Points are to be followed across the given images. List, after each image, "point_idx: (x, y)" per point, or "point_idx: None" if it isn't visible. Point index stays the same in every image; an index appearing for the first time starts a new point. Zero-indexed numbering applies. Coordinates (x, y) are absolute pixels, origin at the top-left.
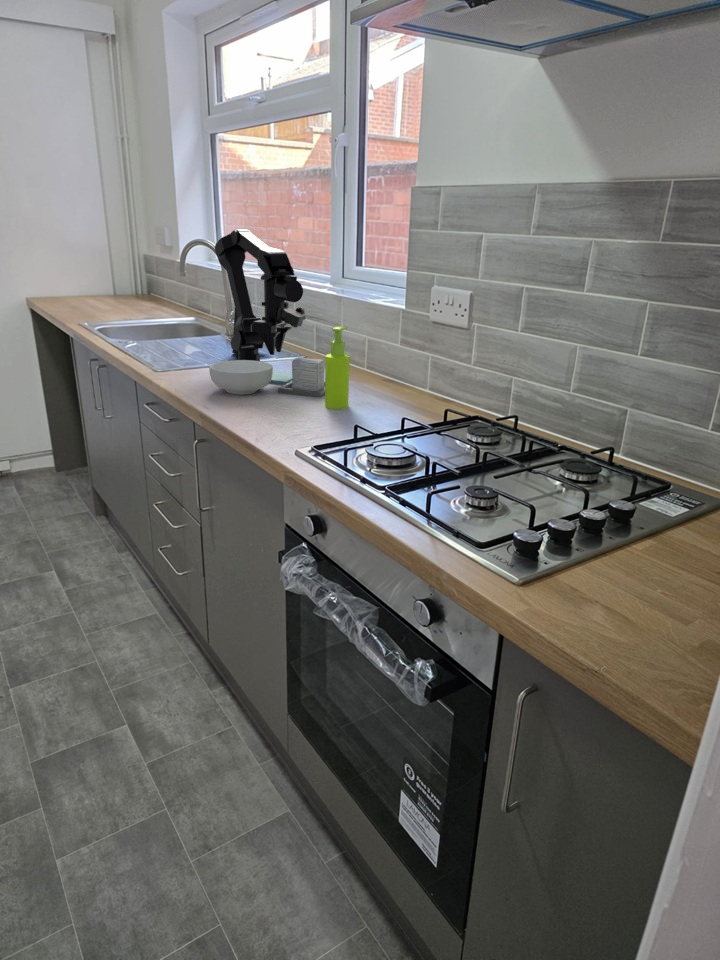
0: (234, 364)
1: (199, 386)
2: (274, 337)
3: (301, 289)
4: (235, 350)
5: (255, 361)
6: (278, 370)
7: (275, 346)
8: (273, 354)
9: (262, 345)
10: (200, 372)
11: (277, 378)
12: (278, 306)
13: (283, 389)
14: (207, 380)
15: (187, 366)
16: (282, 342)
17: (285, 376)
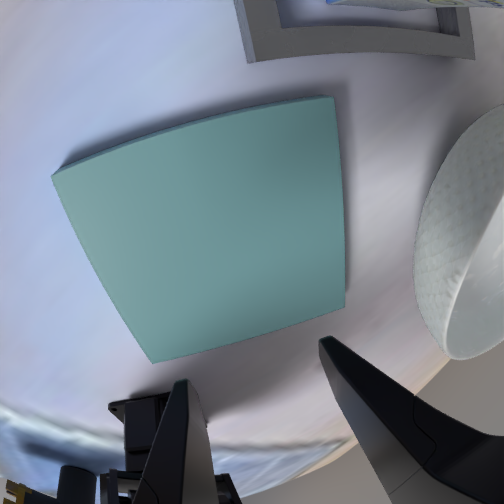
0: (449, 339)
1: None
2: (471, 447)
3: None
4: (94, 482)
5: (456, 296)
6: (125, 315)
7: (208, 439)
8: (332, 336)
9: (112, 480)
10: (307, 423)
11: (292, 190)
12: None
13: (468, 33)
14: (383, 361)
15: (269, 458)
16: (167, 459)
17: (212, 188)
